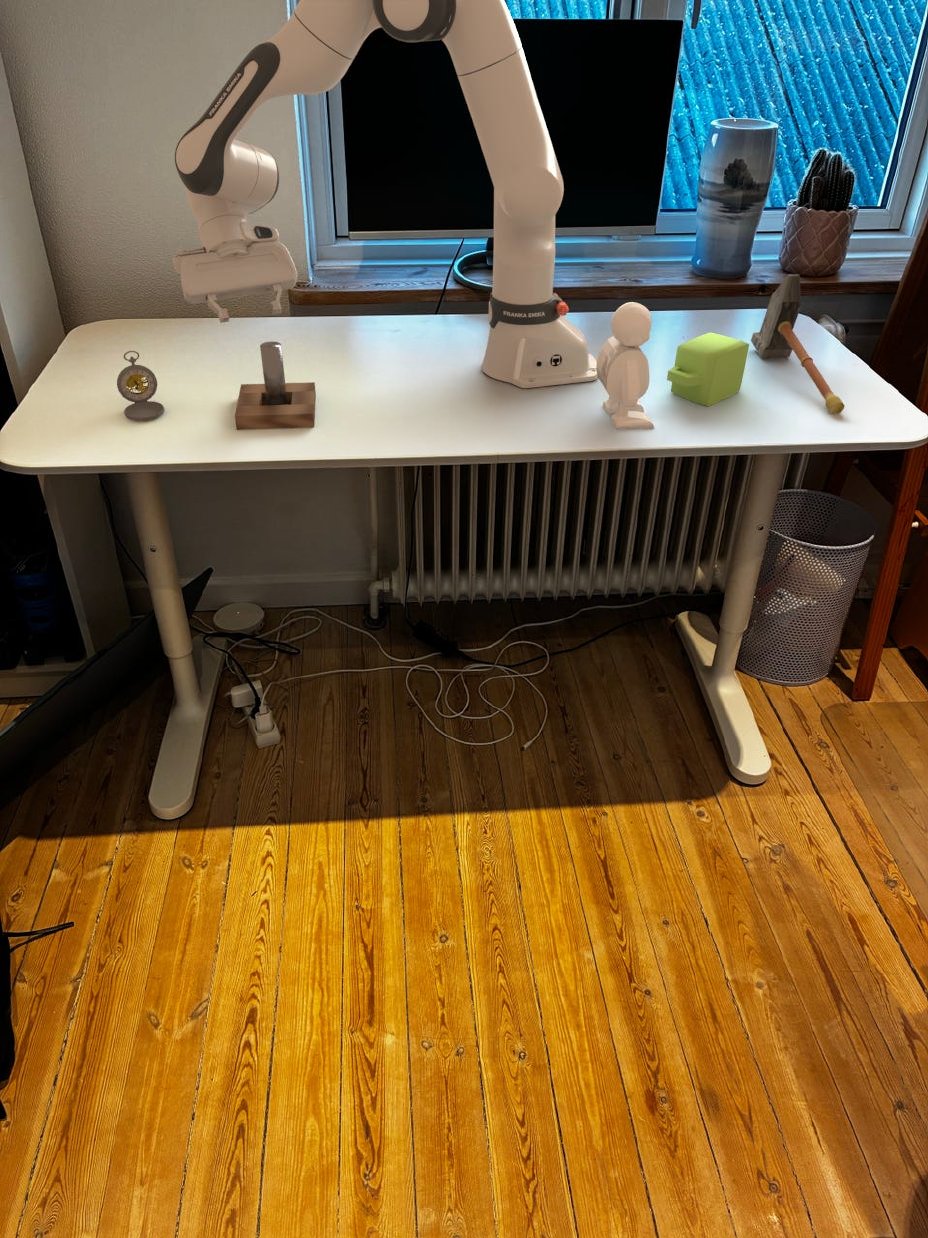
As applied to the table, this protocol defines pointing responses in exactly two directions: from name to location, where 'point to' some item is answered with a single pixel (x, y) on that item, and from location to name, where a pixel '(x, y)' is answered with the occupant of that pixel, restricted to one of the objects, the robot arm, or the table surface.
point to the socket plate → (276, 407)
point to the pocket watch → (130, 379)
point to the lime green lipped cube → (708, 368)
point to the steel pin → (273, 373)
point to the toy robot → (626, 366)
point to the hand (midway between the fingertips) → (251, 316)
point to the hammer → (790, 336)
